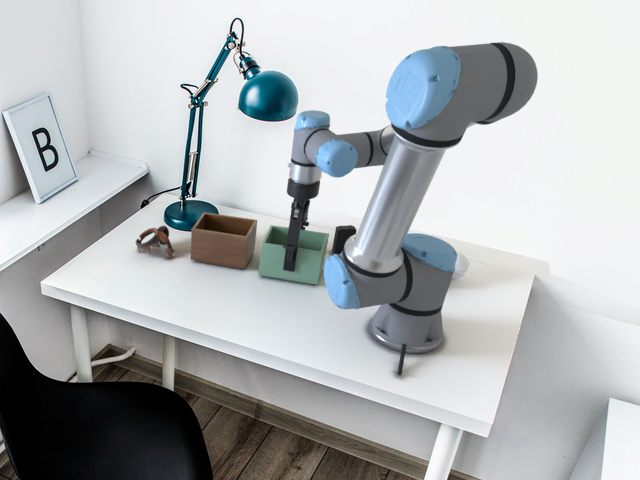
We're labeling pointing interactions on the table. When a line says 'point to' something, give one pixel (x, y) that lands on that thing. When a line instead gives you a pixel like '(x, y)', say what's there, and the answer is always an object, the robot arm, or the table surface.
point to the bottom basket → (223, 240)
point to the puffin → (460, 266)
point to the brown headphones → (155, 240)
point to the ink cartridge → (342, 237)
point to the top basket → (306, 258)
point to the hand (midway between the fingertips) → (292, 259)
